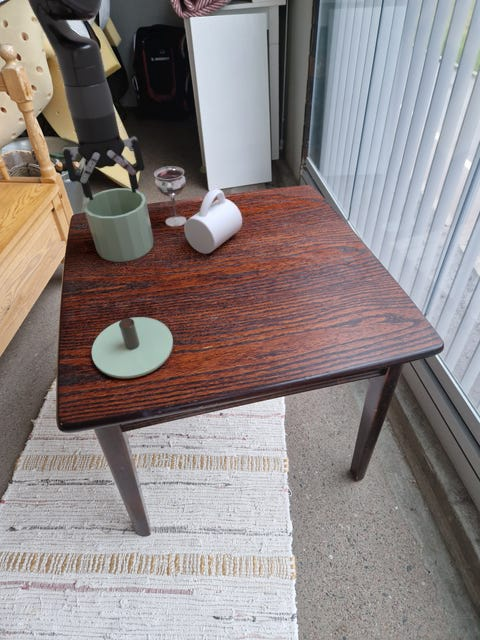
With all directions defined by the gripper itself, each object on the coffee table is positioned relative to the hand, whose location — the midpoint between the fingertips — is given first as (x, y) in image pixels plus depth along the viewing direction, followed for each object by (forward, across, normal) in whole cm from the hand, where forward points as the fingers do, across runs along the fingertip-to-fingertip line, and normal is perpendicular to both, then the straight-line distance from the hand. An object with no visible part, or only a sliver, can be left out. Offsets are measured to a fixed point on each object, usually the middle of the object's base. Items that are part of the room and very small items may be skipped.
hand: (112, 194), depth 85 cm
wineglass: (+12, +13, +6) cm, 19 cm away
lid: (+12, -4, -32) cm, 34 cm away
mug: (+12, +19, -6) cm, 23 cm away
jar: (+12, 0, 0) cm, 12 cm away
